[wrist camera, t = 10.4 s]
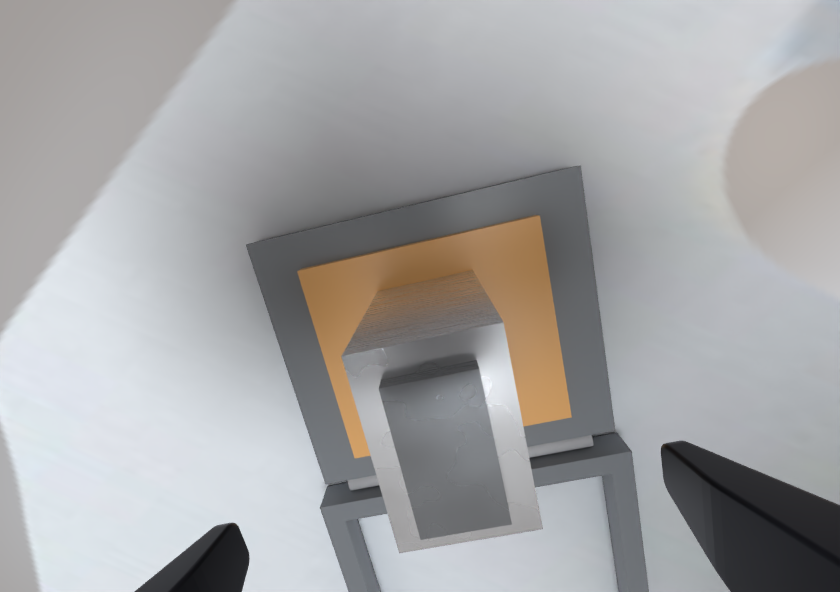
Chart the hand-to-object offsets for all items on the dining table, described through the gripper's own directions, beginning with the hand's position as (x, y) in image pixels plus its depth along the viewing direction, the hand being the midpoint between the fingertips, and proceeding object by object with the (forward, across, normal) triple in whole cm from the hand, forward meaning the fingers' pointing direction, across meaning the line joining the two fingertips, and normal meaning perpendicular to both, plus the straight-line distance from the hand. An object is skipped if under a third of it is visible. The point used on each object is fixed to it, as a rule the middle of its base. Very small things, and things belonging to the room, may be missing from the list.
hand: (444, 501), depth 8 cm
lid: (+11, 0, 0) cm, 11 cm away
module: (+9, 0, 0) cm, 9 cm away
